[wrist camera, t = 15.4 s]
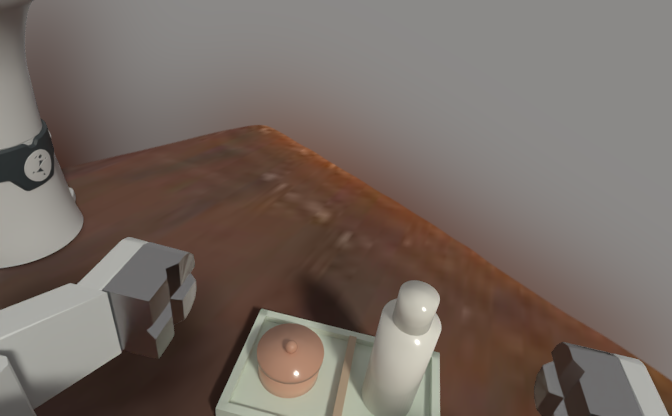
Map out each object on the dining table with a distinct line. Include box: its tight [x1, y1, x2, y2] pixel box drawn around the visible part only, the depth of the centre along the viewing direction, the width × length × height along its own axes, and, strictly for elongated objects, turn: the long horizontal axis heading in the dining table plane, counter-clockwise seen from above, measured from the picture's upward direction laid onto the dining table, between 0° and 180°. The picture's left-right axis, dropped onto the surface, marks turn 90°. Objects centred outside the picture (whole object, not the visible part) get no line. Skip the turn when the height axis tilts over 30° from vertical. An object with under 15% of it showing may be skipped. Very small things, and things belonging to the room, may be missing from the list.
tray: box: [215, 309, 440, 416], centre depth 42 cm, size 20×12×2 cm, turn 79°
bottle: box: [361, 281, 441, 416], centre depth 38 cm, size 5×5×14 cm
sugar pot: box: [257, 323, 324, 398], centre depth 42 cm, size 6×6×6 cm
